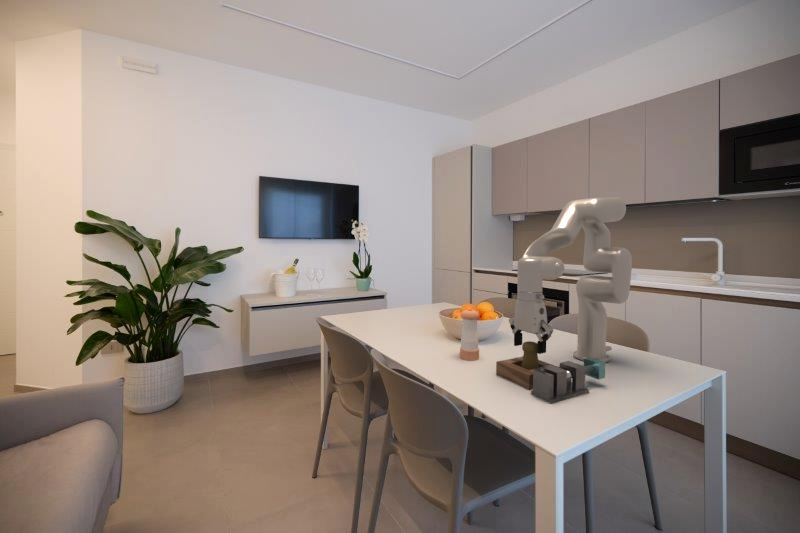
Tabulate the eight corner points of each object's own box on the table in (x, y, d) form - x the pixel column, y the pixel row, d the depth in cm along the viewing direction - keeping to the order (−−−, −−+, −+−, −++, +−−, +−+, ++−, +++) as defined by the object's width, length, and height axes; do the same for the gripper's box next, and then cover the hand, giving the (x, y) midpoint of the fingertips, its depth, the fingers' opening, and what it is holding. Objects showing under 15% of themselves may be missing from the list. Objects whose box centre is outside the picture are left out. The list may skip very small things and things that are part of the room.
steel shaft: (589, 372, 114) (590, 357, 113) (605, 377, 109) (605, 361, 109) (553, 382, 106) (553, 365, 106) (567, 388, 101) (568, 370, 101)
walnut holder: (526, 368, 125) (526, 355, 125) (560, 381, 113) (561, 367, 112) (496, 374, 119) (496, 361, 118) (529, 389, 106) (529, 375, 106)
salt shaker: (483, 358, 136) (483, 308, 135) (469, 361, 132) (470, 310, 131) (469, 353, 142) (469, 306, 141) (455, 356, 138) (456, 307, 137)
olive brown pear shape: (541, 379, 112) (542, 345, 111) (521, 378, 113) (522, 344, 112) (538, 373, 117) (539, 340, 117) (519, 371, 119) (519, 339, 118)
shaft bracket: (567, 384, 111) (568, 359, 110) (588, 392, 104) (589, 366, 104) (530, 394, 103) (531, 367, 103) (551, 403, 97) (551, 375, 96)
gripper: (560, 299, 108) (560, 354, 110) (517, 292, 124) (517, 341, 125) (543, 301, 105) (543, 358, 106) (501, 294, 120) (501, 344, 121)
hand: (529, 349), depth 116 cm, fingers open, 9 cm apart
